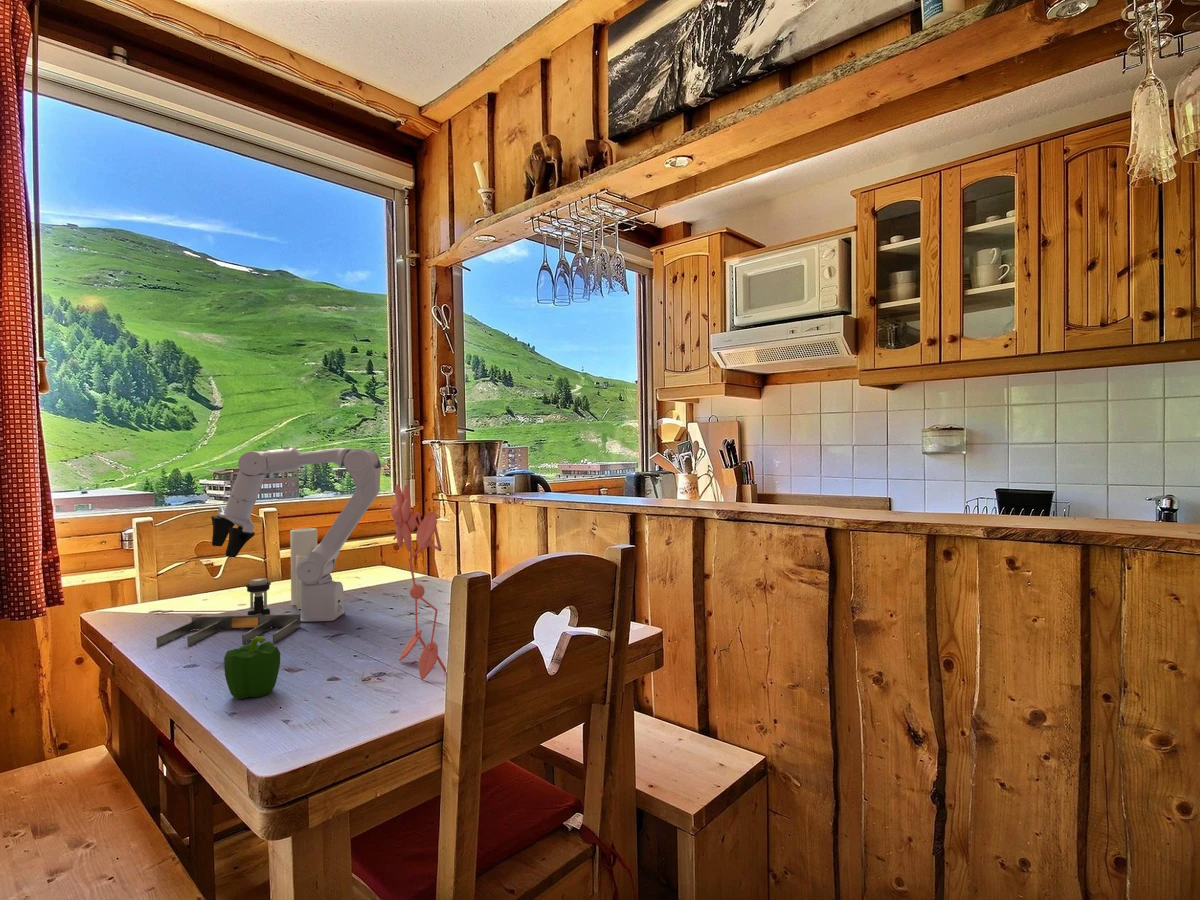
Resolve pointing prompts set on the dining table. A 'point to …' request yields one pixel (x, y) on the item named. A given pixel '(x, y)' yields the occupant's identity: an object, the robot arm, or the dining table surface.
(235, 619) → the rack
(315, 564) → the robot arm
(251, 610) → the push button
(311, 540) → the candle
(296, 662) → the dining table surface
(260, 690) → the bell pepper
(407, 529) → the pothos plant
